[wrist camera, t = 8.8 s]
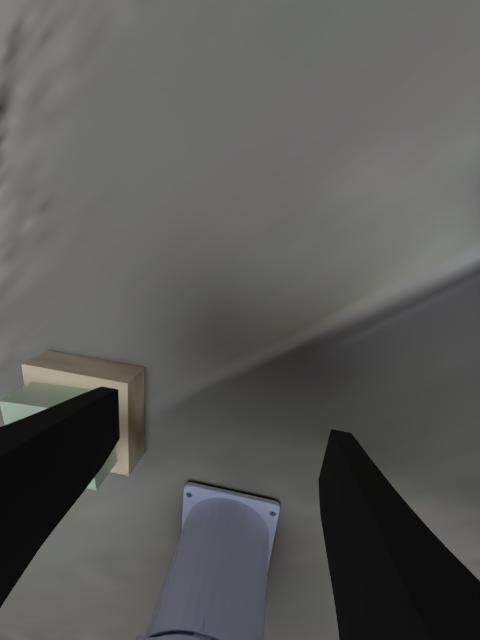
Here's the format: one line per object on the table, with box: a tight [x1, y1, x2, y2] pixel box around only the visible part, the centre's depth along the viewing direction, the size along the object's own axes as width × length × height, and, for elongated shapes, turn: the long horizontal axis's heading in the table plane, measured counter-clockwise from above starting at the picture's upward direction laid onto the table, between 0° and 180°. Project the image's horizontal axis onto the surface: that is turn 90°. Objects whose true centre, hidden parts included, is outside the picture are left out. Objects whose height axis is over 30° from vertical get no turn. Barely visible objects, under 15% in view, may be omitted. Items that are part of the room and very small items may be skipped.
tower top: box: [0, 382, 117, 490], centre depth 20 cm, size 6×6×2 cm
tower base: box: [22, 350, 145, 476], centre depth 22 cm, size 8×8×3 cm
